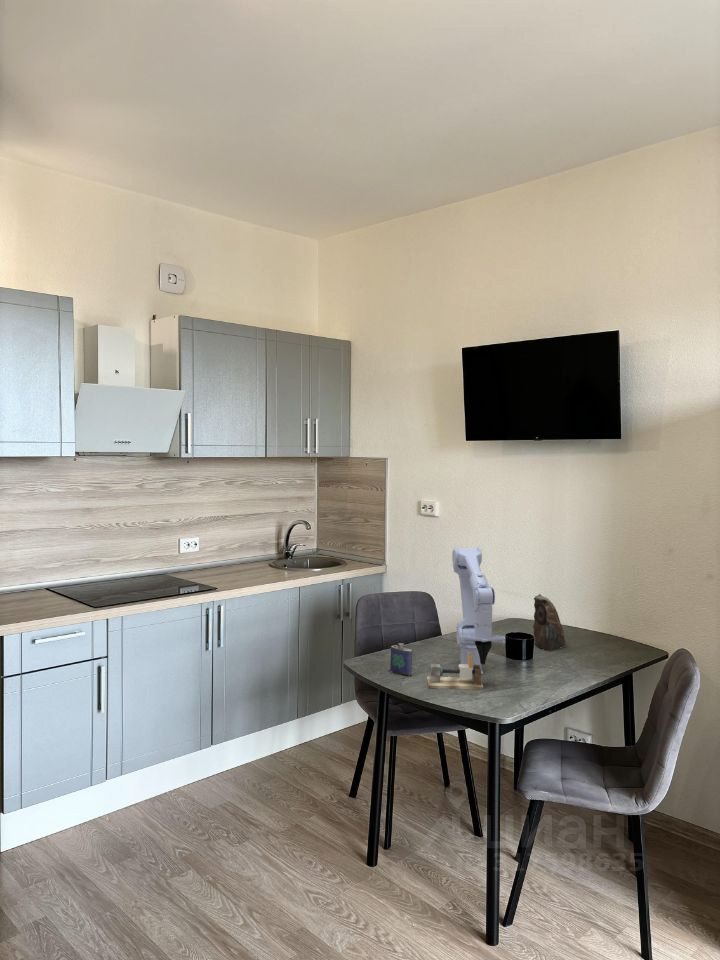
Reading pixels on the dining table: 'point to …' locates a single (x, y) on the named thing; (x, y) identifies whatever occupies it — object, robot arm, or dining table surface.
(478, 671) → the board
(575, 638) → the dining table surface
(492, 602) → the robot arm
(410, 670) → the flask
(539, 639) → the owl
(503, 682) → the dining table surface
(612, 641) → the dining table surface
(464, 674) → the sleeve
